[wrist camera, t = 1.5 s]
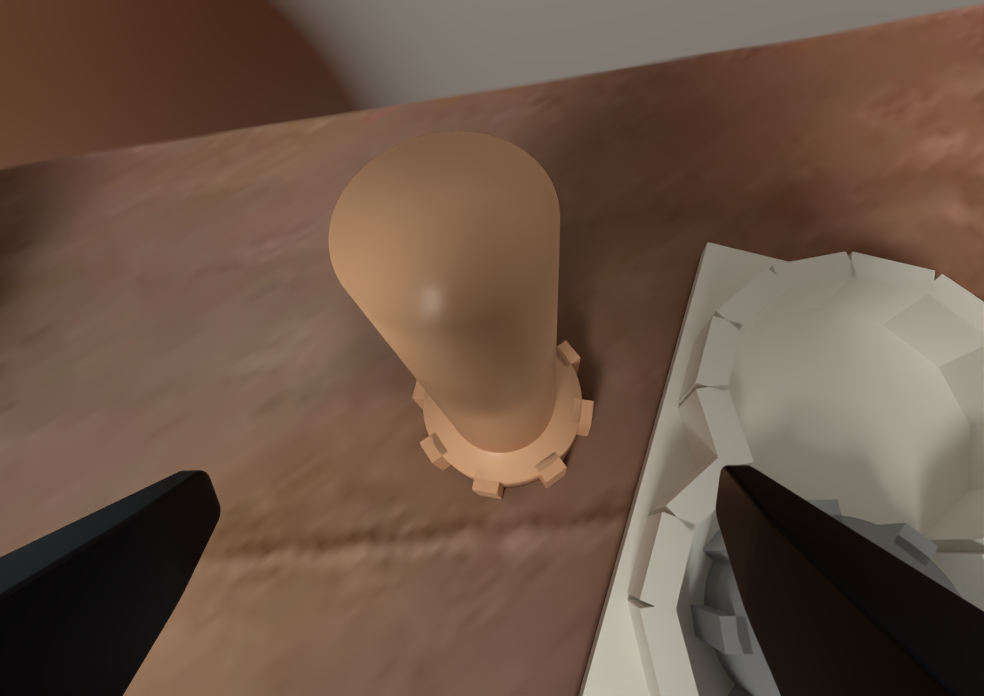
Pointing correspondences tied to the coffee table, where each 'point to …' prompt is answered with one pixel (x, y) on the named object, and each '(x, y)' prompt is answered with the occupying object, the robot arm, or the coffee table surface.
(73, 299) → the coffee table surface
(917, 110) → the coffee table surface
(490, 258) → the knob on notched ring
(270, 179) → the coffee table surface
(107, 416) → the coffee table surface
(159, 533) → the robot arm
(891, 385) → the housing
